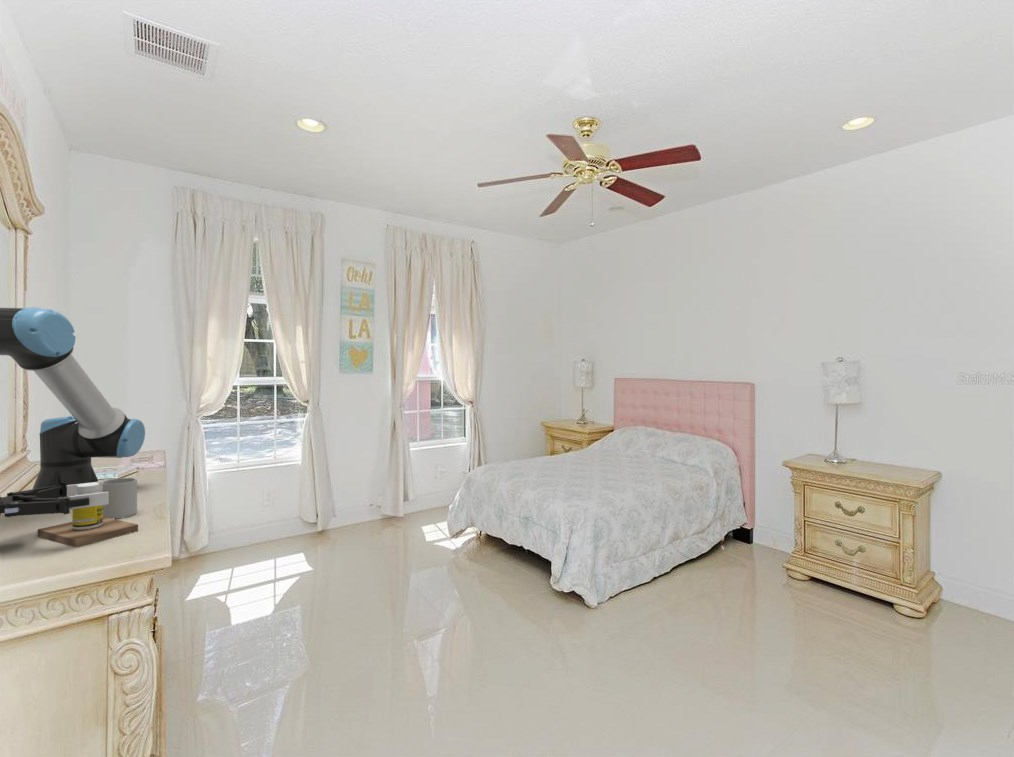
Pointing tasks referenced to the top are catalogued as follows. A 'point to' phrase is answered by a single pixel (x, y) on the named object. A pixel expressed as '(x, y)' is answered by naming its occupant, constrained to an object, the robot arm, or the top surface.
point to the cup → (120, 497)
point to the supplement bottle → (87, 510)
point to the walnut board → (87, 532)
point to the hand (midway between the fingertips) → (105, 492)
